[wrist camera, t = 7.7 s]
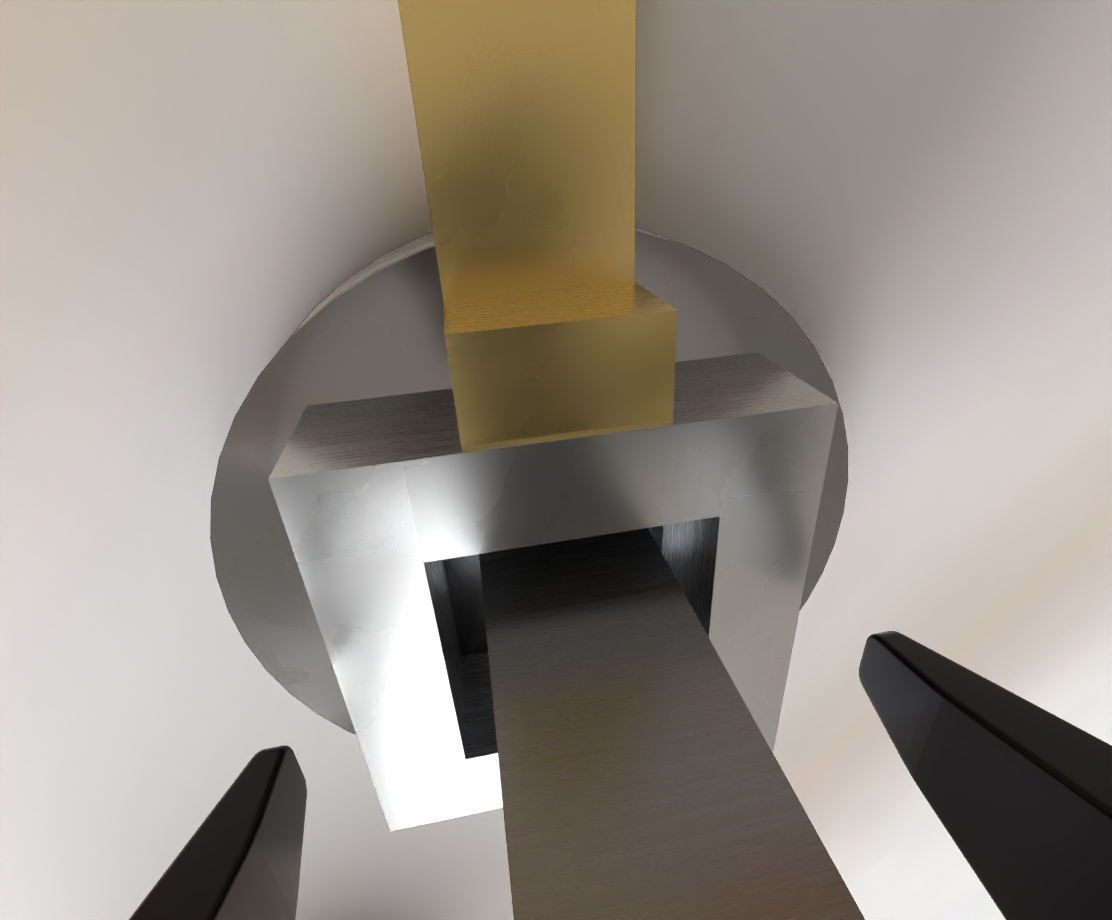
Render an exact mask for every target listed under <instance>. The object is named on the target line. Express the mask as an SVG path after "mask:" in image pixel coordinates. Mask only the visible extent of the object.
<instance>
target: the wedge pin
mask: <svg viewBox="0 0 1112 920" xmlns="http://www.w3.org/2000/svg"><path fill="white" fill-rule="evenodd" d="M479 561H480V571H481V582H482V592H483V603H484V613H485V623H486V634H487V644H488V655H489V665H490V675H491V686H492V696H493V706H494V717H495V727H496V738H497V748H498V758H499V769H500V779H501V790H502V800H503V810H504V821H505V831H506V842H507V852H508V862H509V873H510V883H511V893H512V904H513V914H514V920H865V919H864V917H863V915H862V913H861V911H860V910H859V908H858V906H857V904H856V902H855V901H854V899H853V897H852V895H851V893H850V892H849V890H848V888H847V886H846V884H845V883H844V881H843V879H842V877H841V875H840V874H839V872H838V870H837V868H836V866H835V865H834V863H833V861H832V859H831V857H830V856H829V854H828V852H827V850H826V848H825V847H824V845H823V843H822V841H821V839H820V838H819V836H818V834H817V832H816V830H815V829H814V827H813V825H812V823H811V821H810V819H809V818H808V816H807V814H806V812H805V810H804V809H803V807H802V805H801V803H800V801H799V800H798V798H797V796H796V794H795V792H794V791H793V789H792V787H791V785H790V783H789V782H788V780H787V778H786V776H785V774H784V773H783V771H782V769H781V767H780V765H779V764H778V762H777V760H776V758H775V756H774V755H773V753H772V751H771V749H770V747H769V746H768V744H767V742H766V740H765V738H764V737H763V735H762V733H761V731H760V729H759V727H758V726H757V724H756V722H755V720H754V718H753V717H752V715H751V713H750V711H749V709H748V708H747V706H746V704H745V702H744V700H743V699H742V697H741V695H740V693H739V691H738V690H737V688H736V686H735V684H734V682H733V681H732V679H731V677H730V675H729V673H728V672H727V670H726V668H725V666H724V664H723V663H722V661H721V659H720V657H719V655H718V654H717V652H716V650H715V648H714V646H713V645H712V643H711V641H710V639H709V637H708V635H707V634H706V632H705V630H704V628H703V626H702V625H701V623H700V621H699V619H698V617H697V616H696V614H695V612H694V610H693V608H692V607H691V605H690V603H689V601H688V599H687V598H686V596H685V594H684V592H683V590H682V589H681V587H680V585H679V583H678V581H677V580H676V578H675V576H674V574H673V572H672V571H671V569H670V567H669V565H668V563H667V562H666V560H665V558H664V556H663V554H662V553H661V551H660V549H659V547H658V545H657V543H656V542H655V540H654V538H653V536H652V534H651V533H650V531H649V529H648V528H643V529H637V530H630V531H624V532H617V533H611V534H604V535H598V536H592V537H585V538H579V539H572V540H566V541H559V542H553V543H546V544H540V545H534V546H527V547H521V548H514V549H508V550H501V551H495V552H489V553H482V554H479Z"/></svg>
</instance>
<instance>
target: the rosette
mask: <svg viewBox="0 0 1112 920" xmlns="http://www.w3.org/2000/svg"><path fill="white" fill-rule="evenodd" d="M398 4H399V10H400V17H401V24H402V30H403V37H404V43H405V50H406V57H407V63H408V70H409V76H410V83H411V90H412V96H413V103H414V110H415V116H416V123H417V129H418V136H419V143H420V149H421V156H422V162H423V169H424V176H425V182H426V189H427V196H428V202H429V209H430V215H431V222H432V229H433V232H432V233H429V234H426V235H424V236H422V237H420V238H418V239H415V240H413V241H411V242H409V243H407V244H405V245H403V246H400V247H398V248H396V249H394V250H392V251H390V252H388V253H386V254H384V255H382V256H381V257H379V258H378V259H376V260H375V261H373V262H372V263H370V264H369V265H367V266H366V267H364V268H363V269H361V270H360V271H358V272H357V273H355V274H354V275H352V276H351V277H349V278H347V279H346V280H345V281H344V282H343V283H342V284H341V285H340V286H338V287H337V288H336V289H335V290H334V291H333V292H332V293H331V294H330V295H328V296H327V297H326V298H325V299H324V300H323V301H322V302H321V303H319V304H318V305H317V306H316V307H315V308H314V309H313V310H312V312H311V313H310V314H309V315H308V316H307V318H306V319H305V320H304V321H303V322H302V324H301V325H300V326H299V327H298V329H297V330H296V331H295V332H294V333H293V335H292V336H291V337H290V338H289V339H288V341H287V342H286V343H285V344H284V346H283V347H282V348H281V349H280V351H279V352H278V353H277V354H276V355H275V357H274V358H273V359H272V360H271V362H270V363H269V364H268V365H267V366H266V368H265V369H264V370H263V371H262V373H261V374H260V375H259V376H258V378H257V380H256V381H255V383H254V385H253V387H252V388H251V390H250V392H249V393H248V395H247V397H246V399H245V400H244V402H243V404H242V405H241V407H240V409H239V411H238V412H237V414H236V416H235V418H234V420H233V423H232V426H231V428H230V431H229V433H228V436H227V439H226V441H225V444H224V447H223V449H222V452H221V455H220V457H219V461H218V466H217V472H216V477H215V482H214V487H213V492H212V497H211V536H210V539H211V546H212V552H213V558H214V564H215V571H216V577H217V580H218V583H219V585H220V588H221V591H222V594H223V597H224V600H225V603H226V606H227V609H228V612H229V613H230V615H231V617H232V619H233V621H234V623H235V624H236V626H237V628H238V630H239V632H240V634H241V636H242V637H243V639H244V641H245V643H246V644H247V645H248V647H249V648H250V649H251V651H252V652H253V653H254V655H255V656H256V657H257V659H258V660H259V661H260V663H261V664H262V665H263V666H264V668H265V669H266V670H267V671H268V672H269V673H270V674H271V675H272V676H273V677H274V678H275V679H276V680H277V681H278V682H279V683H280V684H281V685H282V686H283V687H284V688H285V689H286V690H287V691H288V692H289V693H290V694H291V695H293V696H294V697H295V698H297V699H298V700H299V701H301V702H302V703H303V704H305V705H306V706H307V707H309V708H310V709H312V710H313V711H314V712H316V713H317V714H318V715H320V716H322V717H324V718H325V719H327V720H329V721H331V722H332V723H334V724H336V725H338V726H340V727H341V728H343V729H345V730H347V731H349V732H351V733H354V734H356V735H357V738H358V741H359V744H360V746H361V749H362V752H363V755H364V758H365V761H366V764H367V767H368V770H369V773H370V775H371V778H372V781H373V784H374V787H375V790H376V793H377V796H378V799H379V801H380V804H381V807H382V810H383V813H384V816H385V819H386V822H387V825H388V828H389V830H390V832H391V831H395V830H400V829H405V828H410V827H414V826H419V825H424V824H429V823H433V822H438V821H443V820H447V819H452V818H457V817H462V816H466V815H471V814H476V813H480V812H485V811H490V810H495V809H499V808H503V800H502V790H501V779H500V769H499V758H498V748H497V738H496V727H495V717H494V706H493V696H492V686H491V675H490V665H489V655H488V644H487V634H486V623H485V613H484V603H483V592H482V582H481V571H480V561H479V554H482V553H489V552H495V551H501V550H508V549H514V548H521V547H527V546H534V545H540V544H546V543H553V542H559V541H566V540H572V539H579V538H585V537H592V536H598V535H604V534H611V533H617V532H624V531H630V530H637V529H643V528H648V529H649V531H650V533H651V534H652V536H653V538H654V540H655V542H656V543H657V545H658V547H659V549H660V551H661V553H662V554H663V556H664V558H665V560H666V562H667V563H668V565H669V567H670V569H671V571H672V572H673V574H674V576H675V578H676V580H677V581H678V583H679V585H680V587H681V589H682V590H683V592H684V594H685V596H686V598H687V599H688V601H689V603H690V605H691V607H692V608H693V610H694V612H695V614H696V616H697V617H698V619H699V621H700V623H701V625H702V626H703V628H704V630H705V632H706V634H707V635H708V637H709V639H710V641H711V643H712V645H713V646H714V648H715V650H716V652H717V654H718V655H719V657H720V659H721V661H722V663H723V664H724V666H725V668H726V670H727V672H728V673H729V675H730V677H731V679H732V681H733V682H734V684H735V686H736V688H737V690H738V691H739V693H740V695H741V697H742V699H743V700H744V702H745V704H746V706H747V708H748V709H749V711H750V713H751V715H752V717H753V718H754V720H755V722H756V724H757V726H758V727H759V729H760V731H761V733H762V735H763V737H764V738H765V740H766V742H767V744H768V746H769V747H770V749H771V751H773V748H774V743H775V737H776V732H777V727H778V722H779V716H780V711H781V706H782V700H783V695H784V690H785V684H786V679H787V674H788V668H789V663H790V658H791V653H792V647H793V642H794V637H795V631H796V626H797V621H798V615H799V611H800V610H801V608H802V607H803V605H804V604H805V603H806V601H807V599H808V598H809V596H810V594H811V592H812V591H813V589H814V587H815V585H816V583H817V582H818V580H819V578H820V576H821V575H822V573H823V570H824V568H825V565H826V563H827V561H828V558H829V556H830V554H831V551H832V549H833V547H834V544H835V541H836V537H837V534H838V530H839V527H840V523H841V519H842V516H843V512H844V505H845V498H846V491H847V484H848V445H847V438H846V432H845V426H844V419H843V413H842V410H841V407H840V404H839V401H838V398H837V395H836V392H835V389H834V385H833V382H832V380H831V378H830V376H829V374H828V372H827V370H826V368H825V366H824V364H823V362H822V360H821V358H820V356H819V355H818V353H817V351H816V349H815V347H814V346H813V344H812V343H811V342H810V340H809V339H808V338H807V336H806V335H805V334H804V332H803V331H802V330H801V328H800V327H799V326H798V324H797V323H796V322H795V321H794V319H793V318H792V317H791V316H790V315H789V314H788V313H787V312H786V311H785V310H784V309H783V308H782V307H781V306H780V305H779V304H778V303H777V302H776V301H774V300H773V299H772V298H771V297H770V296H769V295H768V294H767V293H766V292H765V291H764V290H763V289H762V288H760V287H759V286H757V285H756V284H754V283H753V282H751V281H750V280H748V279H747V278H745V277H744V276H743V275H741V274H740V273H738V272H737V271H735V270H734V269H732V268H731V267H729V266H728V265H726V264H724V263H722V262H720V261H718V260H716V259H713V258H711V257H709V256H707V255H705V254H703V253H701V252H698V251H696V250H694V249H692V248H690V247H688V246H685V245H683V244H680V243H678V242H675V241H672V240H670V239H667V238H664V237H662V236H659V235H656V234H654V233H651V232H648V231H646V230H642V229H639V228H635V99H636V0H398Z"/></svg>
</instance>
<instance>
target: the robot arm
mask: <svg viewBox="0 0 1112 920" xmlns="http://www.w3.org/2000/svg"><path fill="white" fill-rule="evenodd" d="M859 677H860V681H861V683H862V686H863V688H864V690H865V691H866V693H867V695H868V697H869V699H870V701H871V703H872V704H873V706H874V708H875V710H876V712H877V714H878V716H879V717H880V719H881V721H882V723H883V725H884V727H885V729H886V730H887V732H888V734H889V736H890V738H891V740H892V742H893V743H894V745H895V747H896V749H897V751H898V753H899V755H900V756H901V758H902V760H903V762H904V764H905V765H906V767H907V769H908V771H909V772H910V774H911V776H912V777H913V779H914V781H915V782H916V784H917V785H918V787H919V789H920V790H921V792H922V793H923V795H924V796H925V798H926V799H927V801H928V802H929V804H930V805H931V807H932V808H933V810H934V811H935V813H936V814H937V816H938V817H939V819H940V820H941V822H942V824H943V825H944V827H945V828H946V830H947V831H948V833H949V834H950V836H951V837H952V839H953V840H954V842H955V843H956V845H957V846H958V848H959V849H960V851H961V852H962V854H963V855H964V857H965V858H966V860H967V861H968V863H969V864H970V866H971V867H972V869H973V870H974V872H975V873H976V875H977V877H978V878H979V880H980V881H981V883H982V884H983V886H984V887H985V889H986V890H987V892H988V893H989V895H990V896H991V898H992V899H993V901H994V902H995V904H996V905H997V907H998V908H999V910H1000V911H1001V913H1002V914H1003V916H1004V917H1005V919H1006V920H1112V746H1111V745H1109V744H1108V743H1106V742H1104V741H1102V740H1100V739H1098V738H1096V737H1094V736H1093V735H1091V734H1089V733H1087V732H1085V731H1083V730H1081V729H1079V728H1078V727H1076V726H1074V725H1072V724H1070V723H1068V722H1066V721H1064V720H1063V719H1061V718H1059V717H1057V716H1055V715H1053V714H1051V713H1049V712H1047V711H1046V710H1044V709H1042V708H1040V707H1038V706H1036V705H1034V704H1032V703H1031V702H1029V701H1027V700H1025V699H1023V698H1021V697H1019V696H1017V695H1016V694H1014V693H1012V692H1010V691H1008V690H1006V689H1004V688H1002V687H1001V686H999V685H997V684H995V683H993V682H991V681H989V680H987V679H986V678H984V677H982V676H980V675H978V674H976V673H974V672H972V671H971V670H969V669H967V668H965V667H963V666H961V665H959V664H957V663H955V662H954V661H952V660H950V659H948V658H946V657H944V656H942V655H940V654H939V653H937V652H935V651H933V650H931V649H929V648H927V647H925V646H924V645H922V644H920V643H918V642H916V641H914V640H912V639H910V638H909V637H907V636H905V635H903V634H901V633H899V632H895V631H887V632H882V633H877V634H872V635H870V636H869V637H868V639H867V641H866V645H865V648H864V652H863V656H862V659H861V663H860V667H859ZM306 799H307V788H306V781H305V778H304V775H303V773H302V771H301V769H300V766H299V764H298V762H297V759H296V757H295V755H294V752H293V750H292V749H291V748H290V747H289V746H279V747H274V748H269V749H264V750H261V751H259V752H258V753H257V754H255V755H254V757H253V758H252V759H251V760H250V762H249V763H248V764H247V766H246V767H245V768H244V770H243V771H242V772H241V773H240V775H239V776H238V777H237V779H236V780H235V781H234V783H233V784H232V785H231V787H230V788H229V789H228V790H227V792H226V793H225V794H224V796H223V797H222V798H221V800H220V801H219V802H218V804H217V805H216V806H215V808H214V809H213V810H212V811H211V813H210V814H209V815H208V817H207V818H206V819H205V821H204V822H203V823H202V825H201V826H200V827H199V828H198V830H197V831H196V832H195V834H194V835H193V836H192V838H191V839H190V840H189V842H188V843H187V844H186V846H185V847H184V848H183V849H182V851H181V852H180V853H179V855H178V856H177V857H176V859H175V860H174V861H173V863H172V864H171V865H170V866H169V868H168V869H167V870H166V872H165V873H164V874H163V876H162V877H161V878H160V880H159V881H158V882H157V884H156V885H155V886H154V887H153V889H152V890H151V891H150V893H149V894H148V895H147V897H146V898H145V899H144V901H143V902H142V903H141V904H140V906H139V907H138V908H137V910H136V911H135V912H134V914H133V915H132V916H131V918H130V919H129V920H295V916H296V908H297V899H298V888H299V877H300V866H301V855H302V843H303V832H304V821H305V810H306Z"/></svg>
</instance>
